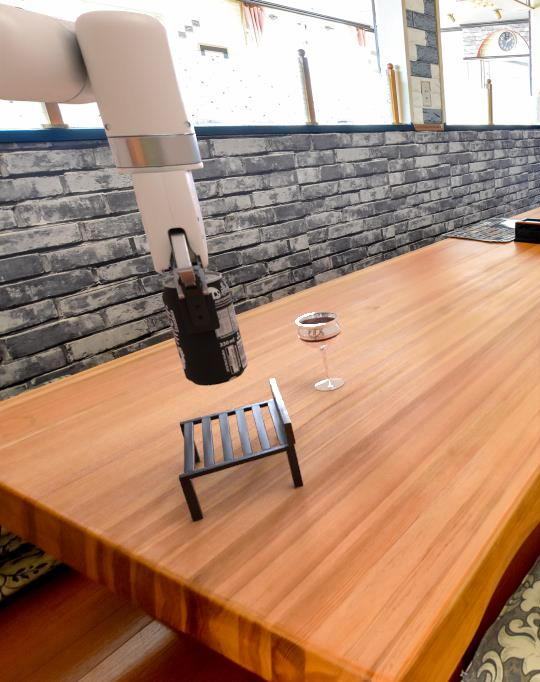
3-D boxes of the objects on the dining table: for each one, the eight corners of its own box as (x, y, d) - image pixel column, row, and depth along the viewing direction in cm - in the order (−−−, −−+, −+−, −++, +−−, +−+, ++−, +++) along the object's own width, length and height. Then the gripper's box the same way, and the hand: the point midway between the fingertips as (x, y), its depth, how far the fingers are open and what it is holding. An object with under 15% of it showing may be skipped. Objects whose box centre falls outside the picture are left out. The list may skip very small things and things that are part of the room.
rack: (193, 521, 60) (170, 455, 56) (191, 460, 71) (173, 401, 68) (305, 485, 65) (291, 422, 62) (287, 433, 77) (274, 377, 73)
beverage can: (182, 375, 63) (153, 278, 59) (240, 359, 67) (217, 267, 63) (194, 393, 59) (163, 290, 54) (256, 375, 63) (232, 277, 58)
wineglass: (358, 378, 93) (347, 313, 88) (332, 395, 87) (319, 327, 82) (327, 373, 95) (315, 310, 91) (300, 389, 89) (286, 323, 85)
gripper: (121, 155, 59) (167, 307, 66) (102, 161, 45) (162, 354, 52) (198, 151, 62) (233, 296, 69) (202, 156, 48) (246, 337, 55)
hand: (203, 319), depth 60 cm, fingers closed on beverage can, 6 cm apart
